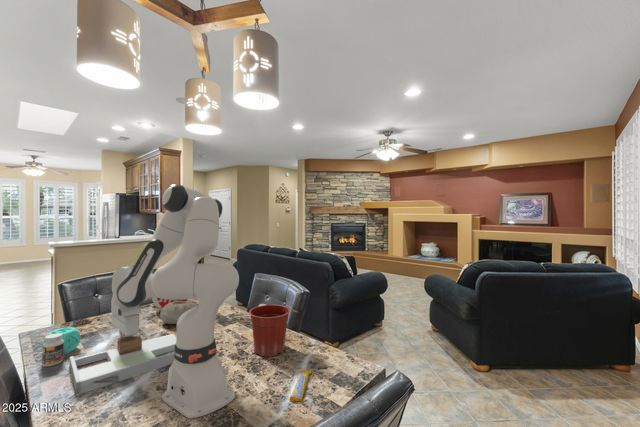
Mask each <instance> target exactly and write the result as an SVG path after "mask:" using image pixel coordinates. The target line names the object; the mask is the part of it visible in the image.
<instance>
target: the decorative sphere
mask: <svg viewBox="0 0 640 427" xmlns="http://www.w3.org/2000/svg"><path fill="white" fill-rule="evenodd" d="M151 300H152V302H153V304H154V305H155V306H156V307H157V308H158V309H160V310H162V309H163V308H164V306H165V305H167V304H169V303H171V302H175V301H188V300H189V299H180V300H170V299H163V298H157V297H156V296H153V297H151Z"/></svg>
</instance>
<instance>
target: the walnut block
mask: <svg viewBox="0 0 640 427" xmlns="http://www.w3.org/2000/svg"><path fill="white" fill-rule="evenodd" d="M142 342H143V338H142V337H141V335H140V334H139V333H137V334H136V335H132V336H126V337H121V338H120V337H117V347H116V348H117V349H118V352H119V355H123V354H127V353H131V352H135V351H139V350H142Z"/></svg>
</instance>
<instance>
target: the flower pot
mask: <svg viewBox="0 0 640 427" xmlns="http://www.w3.org/2000/svg"><path fill="white" fill-rule="evenodd" d="M290 312H291V308H289V306H285V305H281V304H266V305H263V306H259V305H258V306H255V307H253V308H251V309H250V310H249V312H248V314H249V315H250V322H251V324H252V326H251V327H252V338H253V341H252V342H253V351H254V353H255V354H256V355H257V354H258V356H260V357H266V358H267V357H273V356H277V355H278V354H282V353H283V352H284V350H285V345H286V344H285V343H286V334H287V324H288V320H289V315H290Z"/></svg>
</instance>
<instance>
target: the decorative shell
mask: <svg viewBox="0 0 640 427" xmlns="http://www.w3.org/2000/svg"><path fill="white" fill-rule="evenodd" d="M197 305H198V304H196V303H195V302H193V301H188V300H187V301H175V302H171V303H169V304H167V305H165V306H164V308H163V309H160V312H159V314H160V315H159V316H160V317H159V319H160V320H161V322H162V323H164V324H169V325H177V321H178V319H179V317H180V316H181V315H182V314H183V313H184V312H186V311H188V310H190V309H192V308H194V307H195V306H197Z"/></svg>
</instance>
